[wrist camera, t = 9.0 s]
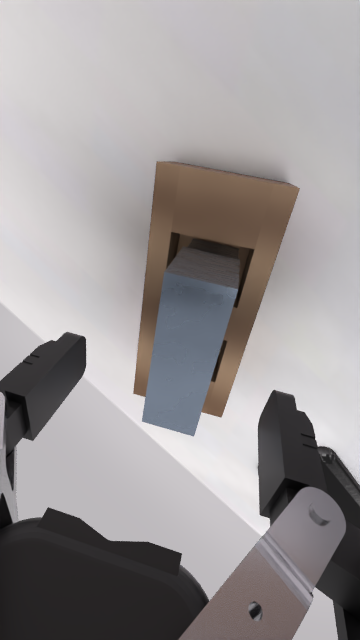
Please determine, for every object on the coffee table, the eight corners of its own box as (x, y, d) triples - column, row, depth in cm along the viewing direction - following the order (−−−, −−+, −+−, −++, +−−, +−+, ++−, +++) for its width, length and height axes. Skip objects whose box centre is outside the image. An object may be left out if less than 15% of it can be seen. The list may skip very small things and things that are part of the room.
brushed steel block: (194, 230, 18) (164, 272, 11) (241, 241, 18) (238, 289, 11) (173, 343, 23) (142, 421, 16) (209, 352, 22) (193, 436, 16)
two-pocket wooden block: (174, 161, 17) (156, 161, 14) (288, 183, 17) (299, 188, 13) (148, 362, 26) (133, 393, 22) (224, 382, 25) (221, 417, 21)
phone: (330, 450, 25) (397, 540, 29) (327, 440, 26) (392, 528, 30) (252, 471, 29) (322, 549, 33) (252, 461, 30) (320, 538, 34)
